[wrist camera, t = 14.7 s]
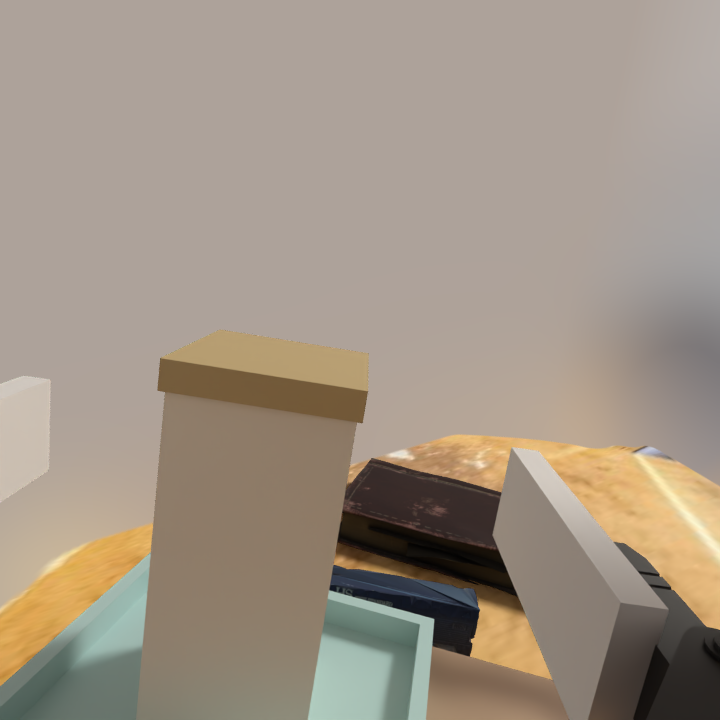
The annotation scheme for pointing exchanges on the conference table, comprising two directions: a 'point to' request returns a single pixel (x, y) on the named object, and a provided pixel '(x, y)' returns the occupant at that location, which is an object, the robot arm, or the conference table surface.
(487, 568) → the diary
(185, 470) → the tea tin
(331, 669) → the tray
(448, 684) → the riser
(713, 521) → the conference table surface
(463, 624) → the vhs cassette tape
